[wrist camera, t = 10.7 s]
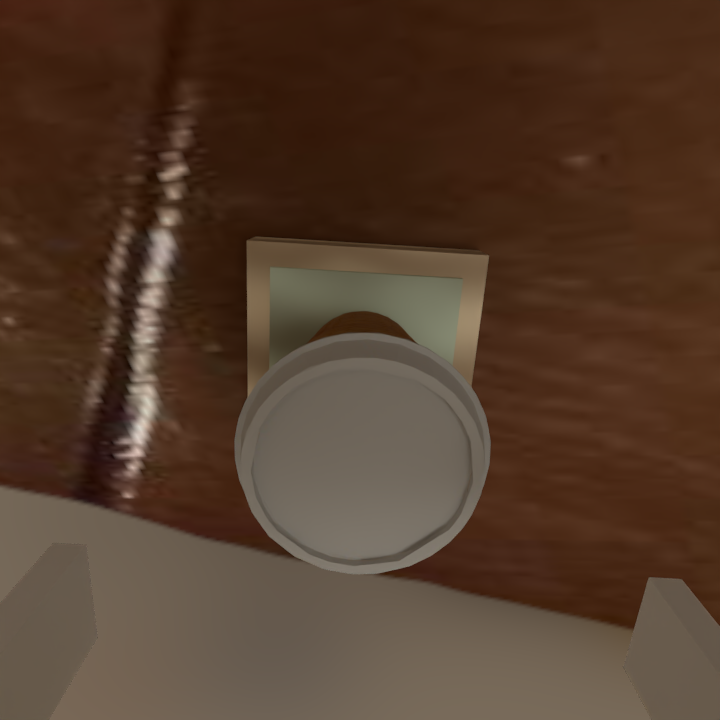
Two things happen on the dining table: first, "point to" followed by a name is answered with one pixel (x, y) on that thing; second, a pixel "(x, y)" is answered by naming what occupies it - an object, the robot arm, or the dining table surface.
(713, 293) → the dining table surface
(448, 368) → the disposable coffee cup
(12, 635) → the robot arm
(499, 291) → the dining table surface
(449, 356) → the trivet
